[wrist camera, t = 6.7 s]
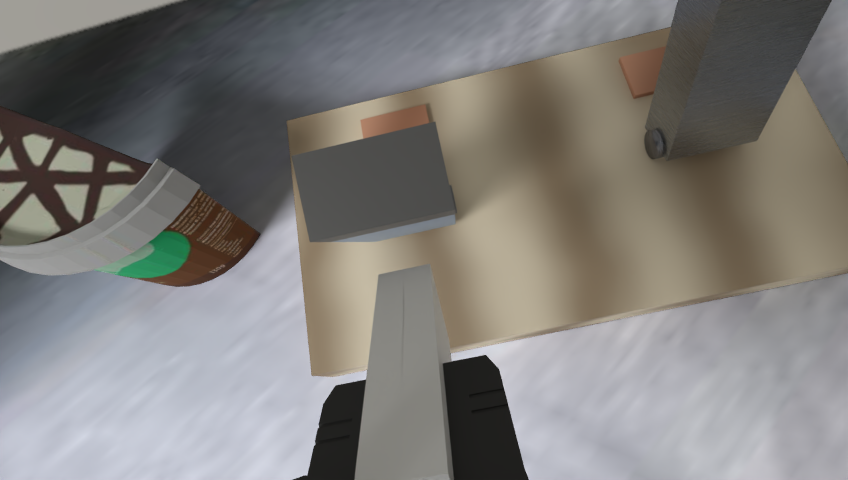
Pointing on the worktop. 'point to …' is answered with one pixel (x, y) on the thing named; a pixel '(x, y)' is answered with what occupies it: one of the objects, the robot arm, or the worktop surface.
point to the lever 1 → (376, 187)
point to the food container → (107, 211)
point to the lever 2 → (725, 72)
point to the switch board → (576, 205)
